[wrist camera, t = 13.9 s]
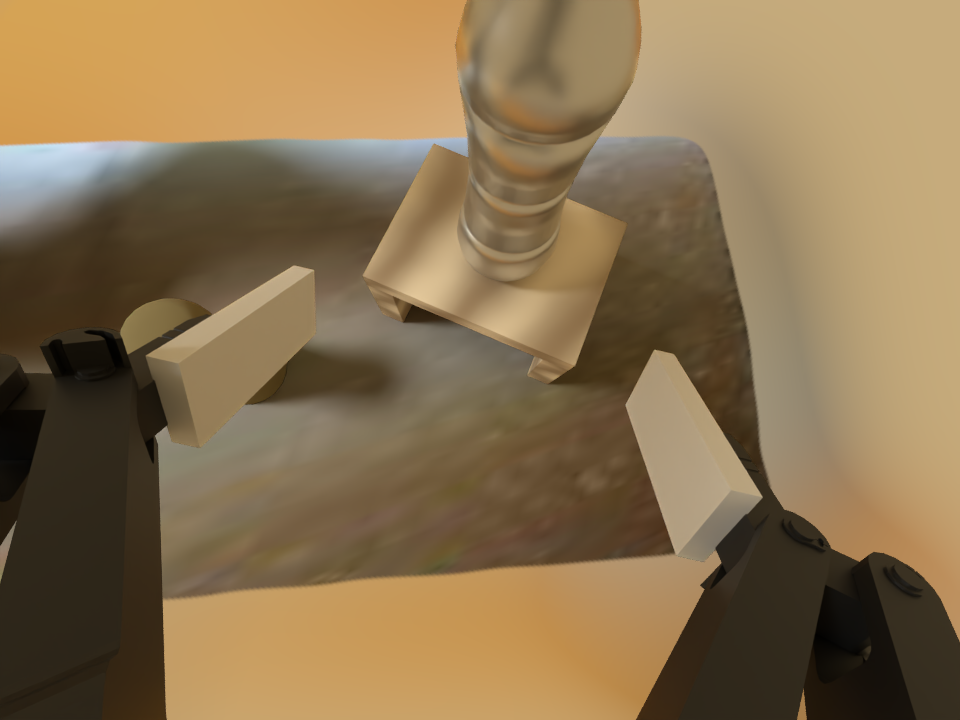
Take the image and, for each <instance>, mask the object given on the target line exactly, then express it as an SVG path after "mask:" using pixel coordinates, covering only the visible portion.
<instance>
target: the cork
mask: <svg viewBox="0 0 960 720" xmlns="http://www.w3.org/2000/svg"><path fill="white" fill-rule="evenodd" d="M206 314H208V315H212V314H211V313H210V312H209V311H207V310H206V309H204V308H203V307H201V306H200V305H198V304H196V303H193V302H190V301H186V300H183V299H177V298H167V299H159V300H156V301H152V302H149V303H146V304H144V305H142V306H141V307H139V308H137V309H136V310H134V312H133V313H132V314H131V315H130V316H129V317H128V318H127V319H126V321H125V323H124V324H123V326H122V328H121V331H120V335H121V337H122V339H123V342H124V345H125V348H126V351H127V354H130V353H131V352H133V351H135V350H137V349H138V348H140V347H142V346H144V345H145V344H147V343H149V342H150V341H152V340H154V339H156V338H157V337H162V335H163V334H164V333H166V332H168V331H169V330H173V329H174V328H175V327H176V326H178V325H180V324H182V323H183V322H185V321H187V320H189V319H192V318H196V317H199V316H203V315H206ZM286 367H287V363H286V364H285V365H284V366H283V367H282V368H281V369H280V370H279V371H278V372H277V373H276V374H275V375H274V376H273V377H272V378H271V379H270V380H269V381H268V382H267V383H266V384H265V385H264V386H263V387H262V388H260V389H259V390H258V391H257V392H256V393H255V394H254V395H253V396H252V397H251V398H250V399H249V400H248V401H247V402H246V403H245V404H255V403H258V402H261V401H264V400H266V399H267V398H268V397H270V396H271V395H273V394H274V393H275V392H276V391H277V390H278V388H279V387H280V386H281V385H282V383H283V380H284V378H285V375H286Z"/></svg>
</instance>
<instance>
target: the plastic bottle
mask: <svg viewBox="0 0 960 720" xmlns="http://www.w3.org/2000/svg"><path fill="white" fill-rule="evenodd" d="M455 46H456V56H457V70H458V81H459V84H460V92H461V98H462V104H463V110H464V117H465V123H466V129H467V140H468V157H469V159H468V163H469V175H468V182H467V189H466V195H465V199H464V202H463V205H462V207H461V210H460V215H459V219H458V226H457V235H458V240H459V244H460V247H461V250H462V252H463V255H464V257H465V259H466V260H467V262H468V263H469V265H470V266H471V267H472V268H473V269H474V270H476V271H477V272H478V273H479V274H481V275H483V276H485V277H487V278H490V279H493V280H497V281H505V282H506V281H516V280H520V279H524V278H526V277H528V276H530V275H532V274H533V273H535V272H536V271H537V270H538V269H539V268H540V267H541V266H542V265H543V264H544V263H545V262H546V261H547V260H548V259H549V258H550V256H551V255H552V253H553V251H554V250H555V247H556V244H557V240H558V236H559V231H560V221H561V214H562V211H563V207H564V204H565V201H566V197H567V194H568V191H569V189H570V187H571V185H572V183H573V181H574V179H575V177H576V175H577V174H578V172H579V170H580V168H581V166H582V164H583V162H584V160H585V158H586V156H587V155H588V153H589V152H590V150H591V149H592V147H593V146H594V144H595V143H596V141H597V140H598V138H599V137H600V135H601V134H602V132H603V130H604V129H605V127H606V126H607V124H608V123H609V121H610V120H611V118H612V116H613V115H614V114H615V113H616V111H617V109H618V108H619V106H620V104H621V103H622V101H623V99H624V97H625V95H626V93H627V91H628V90H629V88H630V86H631V84H632V83H633V80H634V76H635V73H636V70H637V64H638V58H639V52H640V46H641V19H640V9H639V0H467V2H466V4H465V7H464V10H463V14H462V18H461V21H460V25H459V28H458V32H457V38H456V44H455Z"/></svg>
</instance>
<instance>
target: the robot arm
mask: <svg viewBox="0 0 960 720" xmlns="http://www.w3.org/2000/svg"><path fill="white" fill-rule="evenodd" d="M315 334H316V316H315V280H314V270H312V269H308V268H303V267H299V266H295V265H294V266H292V267H291V268H289V269H287V270H286V271H284V272H282V273H281V274H279V275H277V276H276V277H274V278H272V279H271V280H269V281H268V282H266V283H264V284H263V285H261V286H259V287H258V288H256V289H254V290H253V291H251V292H249V293H248V294H246V295H245V296H243V297H241V298H240V299H238V300H236V301H235V302H233V303H231V304H230V305H228V306H227V307H225V308H223V309H222V310H220V311H218V312H217V313H215V314H213V315H208V314H206V315H203V316H199V317H196V318H192V319H189V320H187V321H185V322H183V323H182V324H180V325H178V326H176V327H175V328H174V329H173V330H169V331H168V332H166V333H164V334H163V335H162V337H157V338H156V339H154V340H152V341H150V342H149V343H147V344H145V345H144V346H142V347H140V348H138V349H137V350H135V351H133V352H131V353H130V354H127V351H126V348H125V345H124V342H123V339H122V337H121V335H120V333H119V332H117V331H115V330H113V329H108V328H101V327H87V328H79V329H73V330H68V331H65V332H61V333H58V334H55V335H53V336H52V337H50V338H48V339H46V340H45V341H44V342H43V343H42V344H41V345H40V348H41V350H42V352H43V355H44V357H45V359H46V361H47V363H48V365H49V367H50V369H51V371H52V374H41V373H24V371H23V369H22V367H21V365H20V363H19V362H18V360H17V359H16V358H15V357H12V356H9V355H6V354H0V545H1V544H2V542H3V541H4V539H5V538H6V536H7V534H8V533H9V531H10V530H11V528H12V527H13V525H14V523H15V522H16V520H17V522H16V525H15V529H14V533H13V537H12V541H11V545H10V548H9V552H8V556H7V560H6V564H5V567H4V571H3V575H2V579H1V583H0V720H167V719H166V705H165V669H164V635H163V601H162V566H161V532H160V498H159V463H158V443H157V440H156V437H155V435H156V434H157V433H158V432H160V431H161V430H162V429H163V428H164V427H166V426H167V427H168V431H169V434H170V437H171V441H172V442H175V443H179V444H184V445H188V446H193V447H197V448H201V447H202V446H203V445H204V444H205V443H206V442H207V441H208V440H209V439H210V438H211V437H212V436H213V435H214V434H215V433H216V432H217V431H218V430H219V429H220V428H221V427H222V426H223V425H224V424H225V423H226V422H227V421H228V420H229V419H230V418H231V417H232V416H233V415H234V414H235V413H236V412H237V411H238V410H239V409H240V408H241V407H242V406H243V405H244V404H245V403H246V402H247V401H248V400H249V399H250V398H251V397H252V396H253V395H254V394H255V393H256V392H257V391H258V390H259V389H260V388H262V387H263V386H264V385H265V384H266V383H267V382H268V381H269V380H270V379H271V378H272V377H273V376H274V375H275V374H276V373H277V372H278V371H279V370H280V369H281V368H282V367H283V366H284V365H285V364H286V363H287V362H288V361H289V360H290V359H291V358H292V357H293V356H294V355H295V354H296V353H297V352H298V351H299V350H300V349H301V348H302V347H303V346H304V345H305V344H306V343H307V342H308V341H309V340H310V339H311V338H312V337H313V336H314V335H315ZM626 408H627V411H628V414H629V417H630V420H631V423H632V426H633V429H634V432H635V435H636V438H637V441H638V444H639V447H640V450H641V453H642V456H643V459H644V462H645V465H646V468H647V470H648V473H649V476H650V479H651V482H652V485H653V488H654V491H655V494H656V497H657V500H658V503H659V506H660V509H661V512H662V515H663V518H664V521H665V524H666V527H667V530H668V533H669V536H670V539H671V542H672V545H673V547H674V550H675V553H676V556H678V557H683V558H687V559H692V560H696V561H701V562H704V561H705V560H706V559H707V558H708V557H709V556H710V555H711V553H713V551H714V550H715V549H716V551H717V553H718V555H719V557H720V560H721V562H722V563H721V564H720V565H719V566H718V567H717V568H716V569H715V571H714V572H713V573H712V574H711V575H710V576H709V577H708V578H707V579H706V580H705V581H704V582H703V583H702V584H701V585H700V586H702V587H703V588H704V589H705V590H704V592H703V593H702V595H701V598H700V599H699V601H698V603H697V605H696V607H695V609H694V611H693V612H692V614H691V616H690V618H689V620H688V622H687V624H686V626H685V628H684V630H683V631H682V634H681V635H680V637H679V639H678V641H677V643H676V645H675V647H674V649H673V651H672V652H671V655H670V656H669V658H668V660H667V662H666V664H665V666H664V668H663V669H662V671H661V673H660V675H659V677H658V679H657V681H656V683H655V685H654V687H653V688H652V690H651V692H650V694H649V696H648V698H647V700H646V702H645V704H644V706H643V707H642V709H641V711H640V713H639V715H638V717H637V719H636V720H797V716H798V712H799V707H800V702H801V697H802V693H803V688H804V696H805V706H806V716H807V720H960V642H959V639H958V637H957V635H956V633H955V630H954V628H953V626H952V624H951V621H950V620H949V617H948V615H947V612H946V610H945V608H944V606H943V604H942V601H941V599H940V598H939V596H938V595H937V593H936V592H935V590H934V589H933V588H932V587H931V585H929V583H928V582H927V581H926V580H925V579H924V578H923V577H922V576H921V575H920V574H919V573H918V572H915V571H914V569H913V568H911V567H910V566H908V565H906V564H904V563H903V562H901V561H899V560H897V559H896V558H894V557H891V556H889V555H886V554H884V553H877V552H873V553H871V554H870V555H868V556H867V557H866V558H864V559H863V560H862V561H860V562H858V561H856V560H854V559H852V558H850V557H848V556H846V555H843V554H841V553H839V552H837V551H835V550H833V549H831V547H830V545H829V543H828V542H827V540H826V538H825V537H824V536H823V535H822V534H821V533H820V531H818V529H817V528H816V527H815V526H813V525H812V524H811V523H809V522H808V521H807V520H805V519H804V518H802V517H801V516H799V515H797V514H795V513H793V512H790V511H787V510H784V509H783V507H782V506H781V504H780V502H779V501H778V500H777V498H776V497H775V495H774V493H773V492H772V490H771V489H770V487H769V486H768V484H767V483H766V481H765V480H764V478H763V477H762V475H761V474H759V470H758V469H757V467H756V466H755V464H754V463H752V462H751V461H752V460H751V458H750V457H749V455H748V454H747V452H746V451H745V449H744V448H743V446H741V445H740V444H739V443H738V442H737V441H736V440H735V439H734V438H733V437H732V436H731V435H730V434H727V433H723V432H722V431H721V429H720V428H719V426H718V424H717V423H716V421H715V419H714V418H713V416H712V415H711V413H710V411H709V410H708V408H707V407H706V405H705V403H704V402H703V400H702V399H701V397H700V395H699V394H698V392H697V390H696V389H695V387H694V386H693V384H692V382H691V381H690V379H689V378H688V376H687V374H686V373H685V371H684V370H683V368H682V366H681V365H680V363H679V361H678V360H677V358H676V357H675V355H674V354H671V353H667V352H663V351H659V350H654V351H653V353H652V355H651V357H650V359H649V361H648V363H647V365H646V367H645V368H644V370H643V372H642V374H641V376H640V378H639V380H638V382H637V384H636V386H635V388H634V390H633V392H632V394H631V395H630V397H629V399H628V401H627V403H626Z"/></svg>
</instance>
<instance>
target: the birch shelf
mask: <svg viewBox="0 0 960 720" xmlns="http://www.w3.org/2000/svg"><path fill="white" fill-rule="evenodd" d="M468 159H469V158H468V157H465V156H463V155H460V154H458V153H456V152H453V151H451V150H448V149H446V148H444V147H441V146H439V145H436V144H433V146H432V148H431V150H430V151H429V153H428V155H427V157H426V159H425V161H424V163H423V164H422V166H421V168H420V170H419V172H418V174H417V176H416V177H415V179H414V181H413V183H412V185H411V187H410V189H409V190H408V192H407V194H406V196H405V198H404V200H403V202H402V203H401V205H400V207H399V209H398V211H397V213H396V215H395V216H394V218H393V220H392V222H391V224H390V226H389V228H388V229H387V231H386V233H385V235H384V237H383V239H382V241H381V242H380V244H379V246H378V248H377V250H376V252H375V254H374V255H373V257H372V259H371V261H370V263H369V265H368V267H367V268H366V270H365V272H364V274H363V278H364V280H365V282H366V283H367V285H368V287H369V289H370V291H371V293H372V295H373V296H374V298H375V300H376V302H377V304H378V306H379V308H380V310H381V311H382V313H383V314H384V315H387V316H389V317H391V318H394V319H396V320H398V321H401V322H404V320H405V318H406V316H407V314H408V312H409V310H410V308H411V306H412V304H413V305H415V306H418V307H420V308H422V309H425V310H427V311H429V312H432V313H434V314H436V315H439V316H441V317H444V318H446V319H448V320H451V321H453V322H455V323H458V324H460V325H462V326H465V327H467V328H469V329H472V330H474V331H476V332H479V333H481V334H484V335H486V336H488V337H491V338H493V339H495V340H498V341H500V342H502V343H505V344H507V345H509V346H512V347H514V348H517V349H519V350H521V351H524V352H526V353H528V354H531V355H533V356H534V359H533V361H532V364H531V366H530V369H529V371H528V374H527V376H530V377H532V378H534V379H537V380H539V381H541V382H544V383H546V384H549V383H550V382H552V381H553V380H555V379H556V378H558V377H559V376H561V375H562V374H564V373H565V372H567V371H568V370H570V369H571V368H573V367H574V366H575V364H576V362H577V359H578V356H579V354H580V351H581V348H582V346H583V343H584V340H585V337H586V335H587V332H588V329H589V327H590V324H591V321H592V319H593V316H594V313H595V311H596V308H597V305H598V302H599V300H600V297H601V294H602V292H603V289H604V286H605V284H606V281H607V278H608V276H609V273H610V270H611V267H612V265H613V262H614V259H615V257H616V254H617V251H618V249H619V246H620V243H621V240H622V238H623V235H624V232H625V230H626V227H627V224H628V223H625V222H623V221H621V220H618V219H616V218H613V217H611V216H608V215H606V214H604V213H601V212H599V211H596V210H594V209H591V208H589V207H587V206H584V205H582V204H579V203H577V202H574V201H572V200H570V199H567V198H566V201H565V204H564V207H563V211H562V214H561V221H560V231H559V236H558V240H557V244H556V247H555V250H554V251H553V253H552V255H551V256H550V258H549V259H548V260H547V261H546V262H545V263H544V264H543V265H542V266H541V267H540V268H539V269H538V270H537V271H536V272H535V273H533V274H532V275H530V276H528V277H526V278H524V279H520V280H516V281H506V282H505V281H497V280H493V279H490V278H487V277H485V276H483V275H481V274H479V273H478V272H477V271H476V270H474V269H473V268H472V267H471V266H470V265H469V263H468V262H467V260H466V259H465V257H464V255H463V252H462V250H461V247H460V244H459V240H458V235H457V226H458V219H459V215H460V210H461V207H462V205H463V202H464V199H465V195H466V189H467V182H468V175H469V163H468Z"/></svg>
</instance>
